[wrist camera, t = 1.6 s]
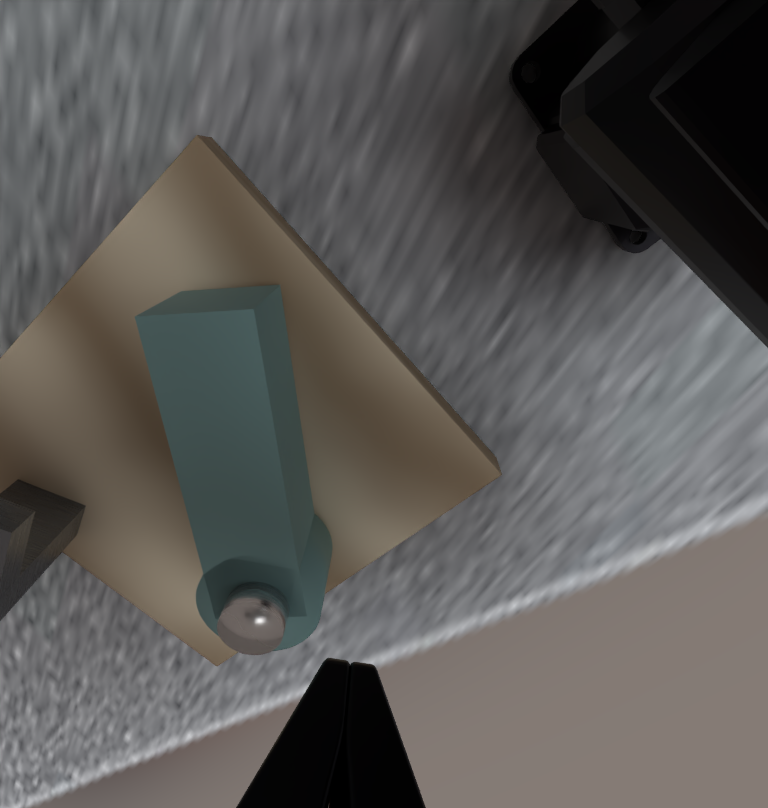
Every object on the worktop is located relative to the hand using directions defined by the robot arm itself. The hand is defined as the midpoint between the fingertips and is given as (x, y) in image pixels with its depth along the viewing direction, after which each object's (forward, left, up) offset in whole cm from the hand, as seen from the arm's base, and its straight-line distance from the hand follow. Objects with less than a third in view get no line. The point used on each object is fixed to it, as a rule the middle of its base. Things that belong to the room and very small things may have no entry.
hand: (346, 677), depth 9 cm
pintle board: (+6, -3, -11) cm, 12 cm away
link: (+4, -2, -9) cm, 10 cm away
